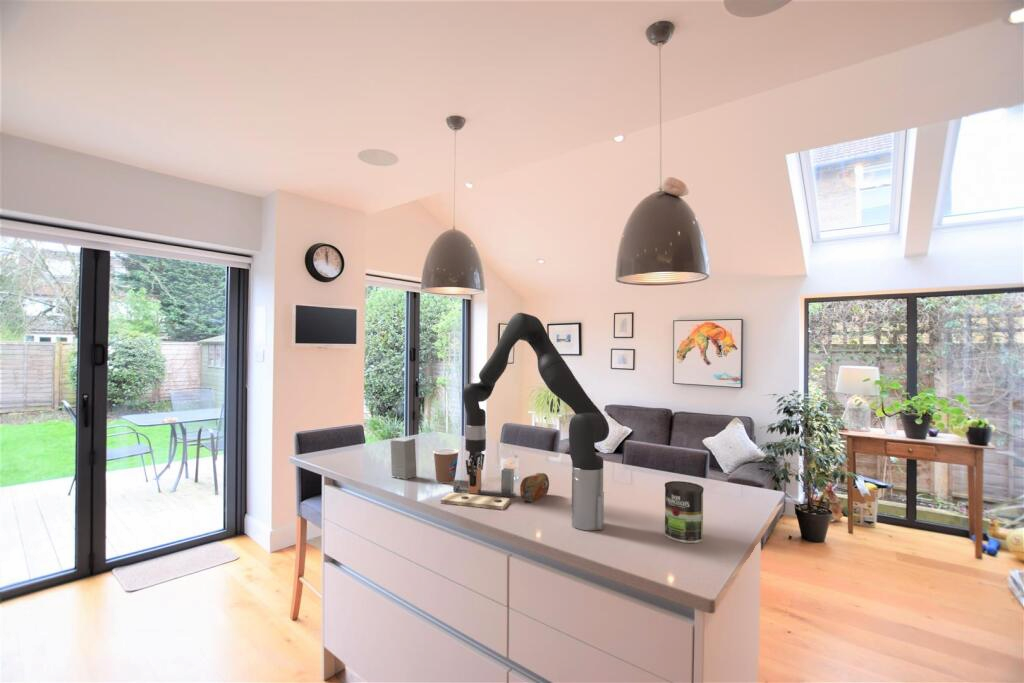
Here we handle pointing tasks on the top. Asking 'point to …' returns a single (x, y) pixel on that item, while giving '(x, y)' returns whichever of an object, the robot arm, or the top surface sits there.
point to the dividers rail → (506, 485)
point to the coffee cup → (445, 464)
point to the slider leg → (478, 482)
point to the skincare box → (403, 458)
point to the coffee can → (684, 511)
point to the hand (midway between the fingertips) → (474, 484)
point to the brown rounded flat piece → (534, 487)
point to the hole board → (476, 500)
